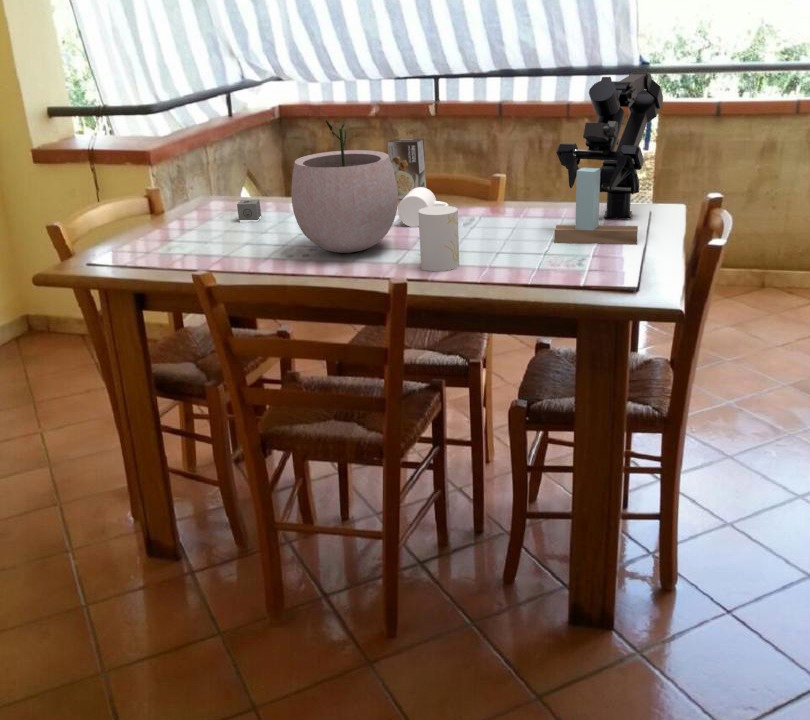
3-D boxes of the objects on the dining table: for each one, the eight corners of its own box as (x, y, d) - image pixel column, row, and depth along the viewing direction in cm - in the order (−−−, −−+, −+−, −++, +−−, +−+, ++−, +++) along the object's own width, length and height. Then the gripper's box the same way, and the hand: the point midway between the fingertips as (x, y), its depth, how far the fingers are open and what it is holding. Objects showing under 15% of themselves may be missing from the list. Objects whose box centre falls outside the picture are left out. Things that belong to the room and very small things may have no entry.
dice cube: (243, 218, 236) (240, 200, 234) (261, 217, 236) (259, 199, 234) (239, 223, 232) (236, 204, 230) (258, 222, 231) (255, 203, 230)
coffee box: (427, 195, 251) (425, 137, 245) (421, 200, 246) (418, 141, 239) (397, 194, 254) (394, 138, 248) (390, 199, 248) (386, 141, 242)
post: (581, 224, 200) (582, 167, 194) (598, 226, 198) (600, 168, 193) (575, 229, 196) (576, 170, 191) (592, 230, 194) (594, 171, 189)
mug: (398, 227, 219) (396, 195, 216) (406, 217, 228) (405, 187, 225) (446, 227, 216) (445, 195, 213) (452, 217, 225) (451, 186, 222)
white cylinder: (456, 271, 182) (454, 214, 177) (417, 271, 183) (415, 214, 179) (461, 260, 189) (460, 205, 184) (424, 260, 191) (422, 205, 186)
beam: (556, 237, 202) (556, 224, 201) (637, 238, 197) (637, 225, 196) (554, 242, 198) (554, 229, 197) (636, 244, 193) (637, 231, 192)
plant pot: (412, 236, 209) (406, 107, 198) (383, 266, 188) (374, 122, 176) (318, 234, 216) (307, 109, 204) (280, 262, 195) (265, 124, 183)
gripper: (559, 106, 197) (541, 165, 192) (642, 107, 188) (625, 169, 184) (571, 136, 206) (553, 193, 202) (650, 138, 197) (634, 198, 193)
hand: (590, 188), depth 195 cm, fingers open, 9 cm apart
